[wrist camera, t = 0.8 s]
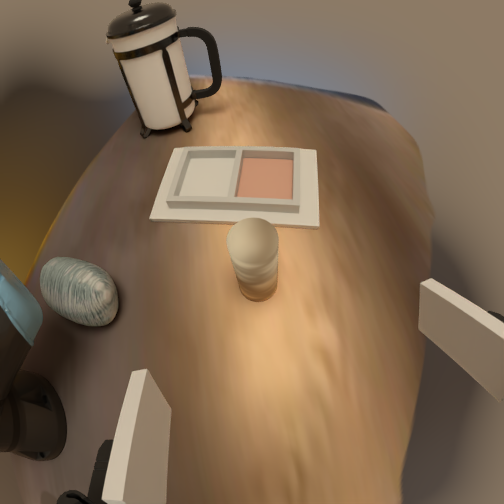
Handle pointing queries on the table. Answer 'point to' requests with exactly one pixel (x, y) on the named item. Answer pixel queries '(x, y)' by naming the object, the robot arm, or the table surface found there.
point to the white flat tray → (240, 186)
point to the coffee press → (159, 64)
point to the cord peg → (254, 257)
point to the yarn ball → (79, 291)
